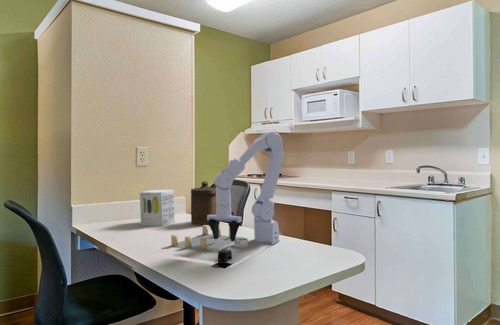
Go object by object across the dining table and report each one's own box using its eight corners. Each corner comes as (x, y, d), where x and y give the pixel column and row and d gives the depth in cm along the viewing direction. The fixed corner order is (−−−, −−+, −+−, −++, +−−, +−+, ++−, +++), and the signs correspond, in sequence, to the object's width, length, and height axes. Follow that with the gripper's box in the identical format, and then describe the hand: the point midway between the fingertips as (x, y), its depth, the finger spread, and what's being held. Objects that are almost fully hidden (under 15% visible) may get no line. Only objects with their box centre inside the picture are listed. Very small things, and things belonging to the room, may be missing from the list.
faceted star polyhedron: (251, 248, 132) (251, 238, 132) (243, 251, 128) (243, 241, 128) (238, 246, 135) (238, 237, 135) (231, 249, 131) (230, 240, 131)
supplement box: (139, 225, 182) (138, 192, 182) (153, 220, 195) (153, 189, 195) (162, 226, 179) (161, 192, 178) (175, 221, 191) (174, 189, 191)
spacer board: (243, 239, 145) (243, 227, 145) (210, 255, 124) (210, 240, 124) (204, 235, 154) (204, 224, 154) (167, 249, 133) (166, 236, 133)
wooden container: (225, 222, 185) (224, 180, 185) (202, 226, 175) (201, 182, 174) (208, 219, 196) (207, 180, 195) (185, 223, 186) (184, 181, 185)
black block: (225, 258, 121) (224, 245, 121) (244, 260, 118) (243, 247, 118) (205, 269, 110) (205, 255, 110) (225, 272, 107) (225, 257, 106)
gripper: (202, 205, 135) (203, 240, 135) (234, 206, 128) (235, 243, 128) (212, 202, 141) (213, 236, 141) (243, 204, 134) (244, 239, 134)
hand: (224, 239), depth 135 cm, fingers open, 7 cm apart
